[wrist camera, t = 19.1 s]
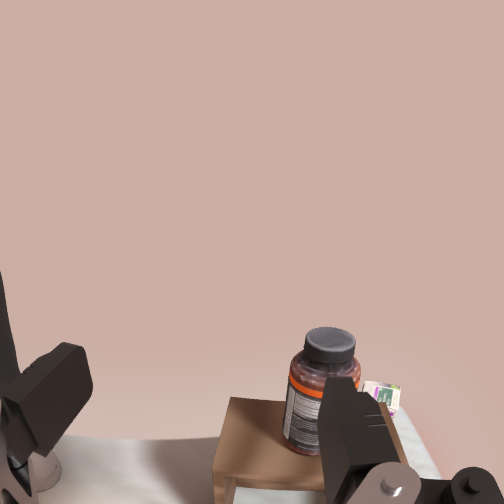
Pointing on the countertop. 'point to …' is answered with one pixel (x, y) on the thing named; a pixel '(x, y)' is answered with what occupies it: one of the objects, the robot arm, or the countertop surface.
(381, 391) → the syrup box
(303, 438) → the supplement bottle
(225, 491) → the walnut cubby
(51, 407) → the robot arm
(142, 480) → the countertop surface
